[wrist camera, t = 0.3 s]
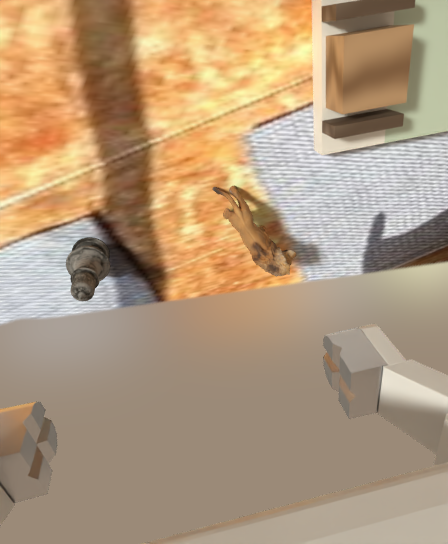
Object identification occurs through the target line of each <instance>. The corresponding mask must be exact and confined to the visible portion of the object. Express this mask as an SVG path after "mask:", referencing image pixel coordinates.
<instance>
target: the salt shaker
mask: <svg viewBox="0 0 448 544" xmlns="http://www.w3.org/2000/svg"><path fill="white" fill-rule="evenodd" d="M109 256H110V254H109V249H108V247H107V246H106V244H105V243H103V242H102V241H101V240H99V239H96V238H83V239H81V240H79V241H77V242H76V243H75V244H74V246H73V248H72V252H71V253H70V254H69V255H68V257H67V260H66V267H67V270H68V272H69V274H70V275H71V282H72V286H71V294H72V296H73V297H74V298H75V299H76V300H79V301H87V300H89V299H91V298H92V297H93V295H94V291H95V288H96V287H97V286H98V284H99V281H101V280H103V279H104V278H105V277H106V276H107V275H108V273H109V270H110V261H109Z"/></svg>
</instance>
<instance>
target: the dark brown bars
mask: <svg viewBox="0 0 448 544" xmlns="http://www.w3.org/2000/svg"><path fill="white" fill-rule="evenodd" d="M410 8H415V0H357V1H351V2H345V3H338V4H332V5H326V6H322V22H325V21H337V20H343V19H349V18H355V17H361V16H367V15H373V14H379V13H386V12H392V11H398V10H404V9H410ZM403 120H404V114H403V113H400V112H397V111H393V110H390V109H383V110H378V111H372V112H367V113H361V114H356V115H351V116H345V117H340V118H334V119H329V120H323V121H322V133H324V134H326V135H328V136H330V137H331V138H333V139H338V138H344V137H349V136H354V135H359V134H365V133H370V132H375V131H380V130H386V129H391V128H396V127H402V126H403Z"/></svg>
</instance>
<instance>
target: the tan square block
mask: <svg viewBox="0 0 448 544" xmlns="http://www.w3.org/2000/svg"><path fill="white" fill-rule="evenodd" d="M413 30H414V24H410V25H389V26H383V27H377V28H371V29H365V30H359V31H353V32H347V33H341V34H335V35H329V36H326V108H327V109H330V110H332V111H335V112H338V113H340V114H347V113H353V112H358V111H363V110H369V109H374V108H380V107H385V106H391V105H396V104H401V103H406V100H407V90H408V80H409V70H410V60H411V50H412V40H413Z"/></svg>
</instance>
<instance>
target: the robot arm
mask: <svg viewBox="0 0 448 544" xmlns="http://www.w3.org/2000/svg"><path fill="white" fill-rule="evenodd" d="M323 346H324V348H325V349H326V351H327V353H326V354H325V355H324V357H323V362H324V369H325V374H326V377H327V379H328V382H329V384H330V385H331V387H332V388H333V389H334V390H336V391H338V392H339V402H340V404H341V405H342V407H343V409H344V411H345V413H346V415H347V416H348V418H349V419H351V418H356V417H360V416H364V415H369V414H374V413H378V415H380V416H381V417H383V418H384V419H386V420H387V421H389V422H390V423H391V424H393V425H394V426H396V427H397V428H399V429H400V430H402V431H403V432H405V433H406V434H407V435H409V436H410V437H412V438H413V439H415V440H416V441H417V442H419V443H420V444H422V445H423V446H425V447H426V448H427V449H429V450H430V451H432V452H433V453H435V454H436V457H435V461H434V465H433V466H432V467H428V468H424V469H420V470H416V471H413V472H409V473H405V474H401V475H398V476H394V477H390V478H387V479H383V480H379V481H375V482H372V483H368V484H364V485H360V486H356V487H353V488H349V489H345V490H341V491H338V492H334V493H330V494H326V495H322V496H318V497H315V498H311V499H307V500H303V501H300V502H296V503H292V504H288V505H285V506H281V507H277V508H273V509H270V510H266V511H262V512H258V513H255V514H251V515H247V516H243V517H239V518H236V519H232V520H228V521H224V522H221V523H217V524H214V525H209V526H206V527H202V528H198V529H194V530H190V531H187V532H183V533H179V534H176V535H172V536H168V537H164V538H160V539H157V540H153V541H149V542H145V543H141V544H448V375H445V374H443V373H441V372H438V371H436V370H434V369H432V368H430V367H427V366H425V365H423V364H421V363H418V362H416V361H414V360H408V361H407V360H406V359H405V358H404V357H403V356H402V354H401V353H400V352H399V351H398V350H397V348H396V347H395V346H394V345H393V344H392V343H391V341H390V340H389V339H388V338H387V336H386V335H385V334H384V333H383V332H382V330H381V329H380V328H379V327H378V326H377V325H376V324H370V325H365V326H361V327H358V328H354V329H349V330H345V331H341V332H337V333H333V334H328V335H325V336H324V339H323ZM44 414H45V408H44V407H43V405H42V404H41V402H32V403H28V404H23V405H18V406H13V407H8V408H3V409H0V526H1V524H2V523H3V521H4V520H5V519H6V517H7V516H8V514H9V513H10V511H11V510H12V509H13V507H14V506H15V504H14V503H17V502H21V501H24V500H28V499H32V498H35V497H39V496H42V495H46V494H48V490H49V484H50V480H51V475H52V469H51V467H50V465H49V462H50V461H51V460H52V459H53V457H54V456H55V455H56V450H57V433H56V430H55V426H54V424H53V423H52V421H51V420H49V419H47V418H45V417H44Z"/></svg>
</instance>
